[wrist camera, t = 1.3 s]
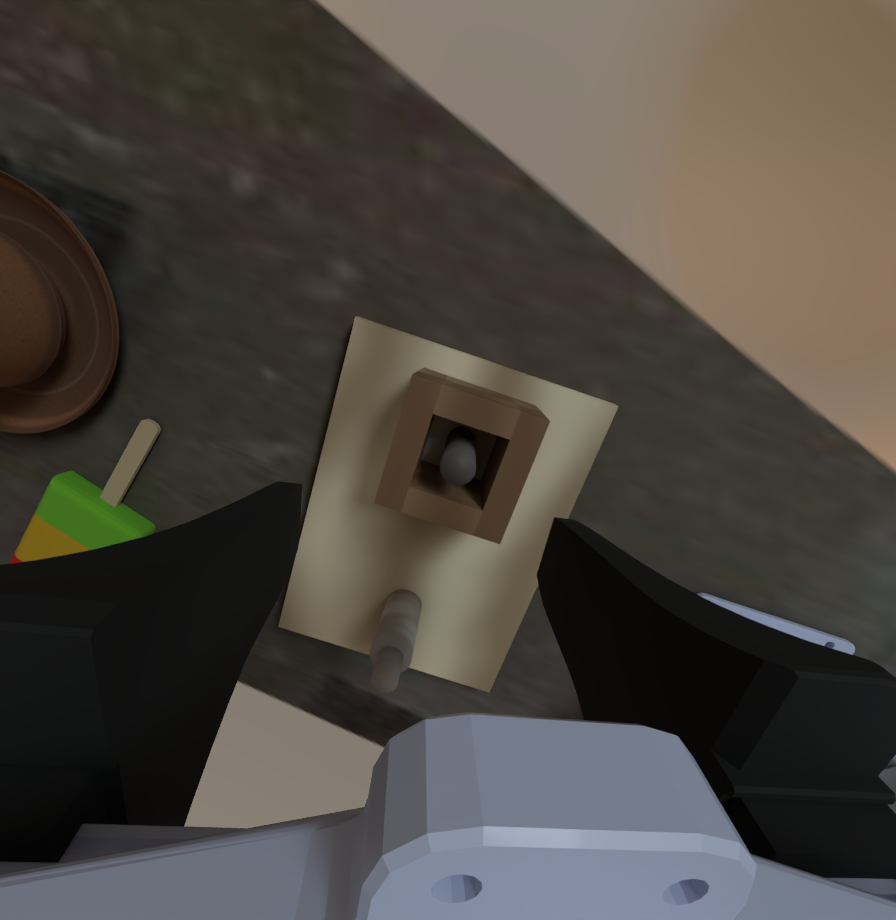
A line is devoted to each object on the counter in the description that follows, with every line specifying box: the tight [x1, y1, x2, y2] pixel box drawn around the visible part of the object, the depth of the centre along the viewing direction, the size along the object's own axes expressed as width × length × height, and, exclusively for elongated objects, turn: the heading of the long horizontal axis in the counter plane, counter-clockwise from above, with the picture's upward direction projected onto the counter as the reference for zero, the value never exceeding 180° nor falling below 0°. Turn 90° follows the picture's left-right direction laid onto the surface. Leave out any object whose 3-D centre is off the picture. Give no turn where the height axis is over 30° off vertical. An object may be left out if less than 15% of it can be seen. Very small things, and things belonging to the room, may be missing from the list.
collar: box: [374, 368, 550, 544], centre depth 19 cm, size 6×6×4 cm
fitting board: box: [278, 316, 618, 693], centre depth 20 cm, size 13×18×6 cm
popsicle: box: [10, 419, 161, 564], centre depth 24 cm, size 6×15×2 cm, turn 143°
